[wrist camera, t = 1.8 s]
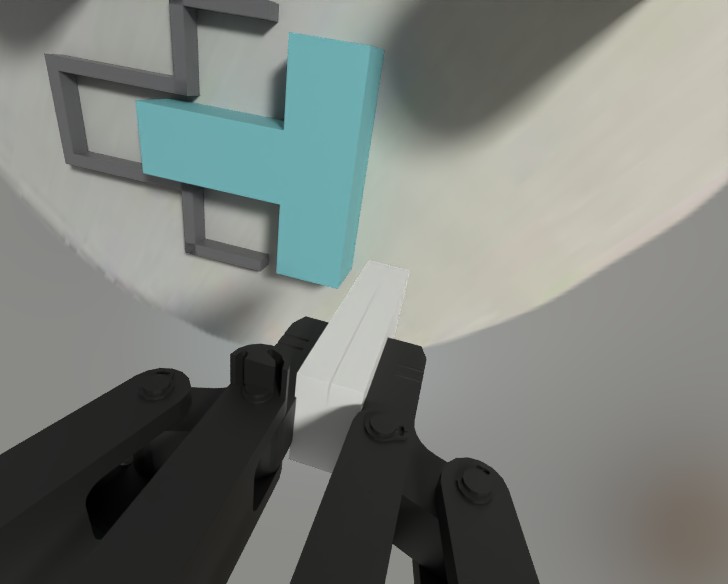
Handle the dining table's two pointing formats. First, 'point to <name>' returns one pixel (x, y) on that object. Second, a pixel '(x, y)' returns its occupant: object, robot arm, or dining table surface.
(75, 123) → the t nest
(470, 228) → the dining table surface
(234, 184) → the t block
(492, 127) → the dining table surface
